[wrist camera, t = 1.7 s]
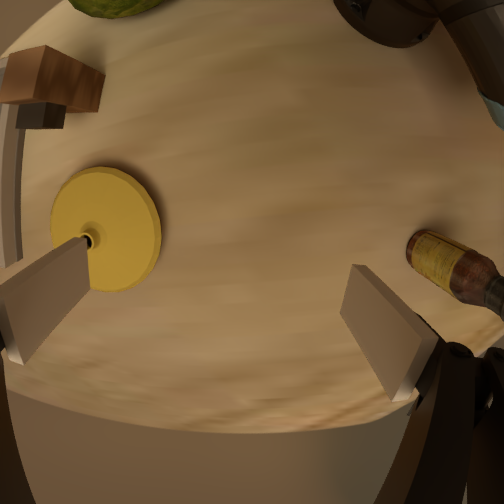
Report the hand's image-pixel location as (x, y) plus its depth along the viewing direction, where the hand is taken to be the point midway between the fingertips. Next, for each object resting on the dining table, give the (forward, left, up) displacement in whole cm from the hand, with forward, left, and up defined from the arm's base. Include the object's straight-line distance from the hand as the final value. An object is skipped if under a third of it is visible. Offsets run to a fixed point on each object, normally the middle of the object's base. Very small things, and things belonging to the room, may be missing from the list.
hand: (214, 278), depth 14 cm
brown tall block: (-11, -21, -22) cm, 32 cm away
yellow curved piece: (+5, -15, -23) cm, 27 cm away
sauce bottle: (+1, +28, -22) cm, 36 cm away
